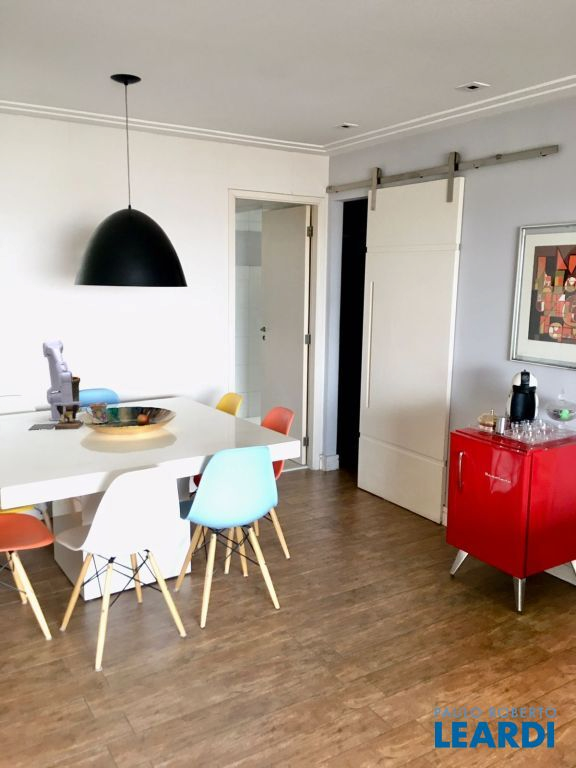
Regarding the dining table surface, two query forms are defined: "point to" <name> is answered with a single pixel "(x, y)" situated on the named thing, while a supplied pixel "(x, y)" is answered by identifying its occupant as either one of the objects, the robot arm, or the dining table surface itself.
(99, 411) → the mug
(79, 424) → the peg stand
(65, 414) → the u link
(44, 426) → the mat
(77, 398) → the vessel
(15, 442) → the dining table surface
